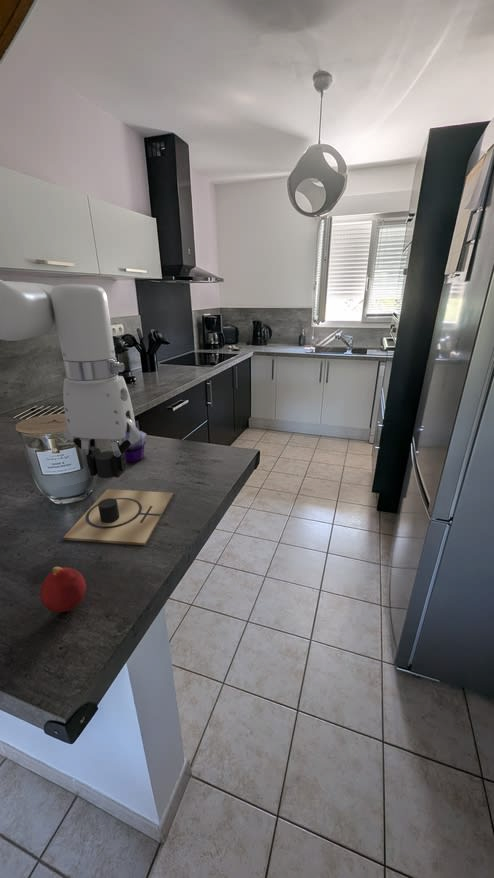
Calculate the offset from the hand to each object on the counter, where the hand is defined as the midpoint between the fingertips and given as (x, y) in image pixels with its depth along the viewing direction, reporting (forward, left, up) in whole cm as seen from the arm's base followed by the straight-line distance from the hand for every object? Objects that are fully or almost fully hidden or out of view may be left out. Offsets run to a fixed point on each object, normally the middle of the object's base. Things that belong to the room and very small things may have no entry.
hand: (108, 472), depth 63 cm
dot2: (0, 0, 0) cm, 0 cm away
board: (-2, +7, -14) cm, 16 cm away
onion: (0, -17, -14) cm, 22 cm away
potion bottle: (-11, +34, -14) cm, 39 cm away
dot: (-4, +5, -13) cm, 15 cm away
